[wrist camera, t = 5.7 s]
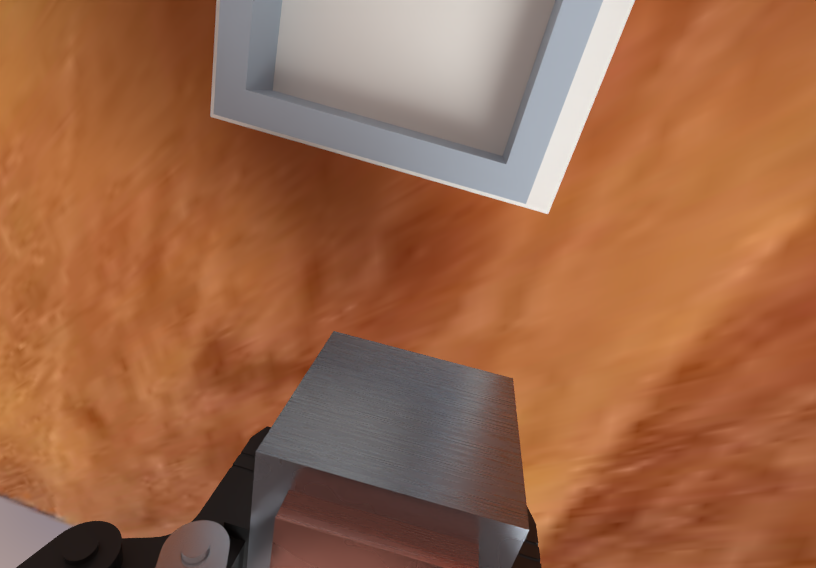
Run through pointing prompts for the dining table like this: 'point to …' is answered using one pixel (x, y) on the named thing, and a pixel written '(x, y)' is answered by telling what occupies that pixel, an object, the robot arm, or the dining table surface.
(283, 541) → the copper topped block
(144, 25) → the dining table surface
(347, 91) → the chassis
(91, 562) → the robot arm
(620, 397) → the dining table surface
